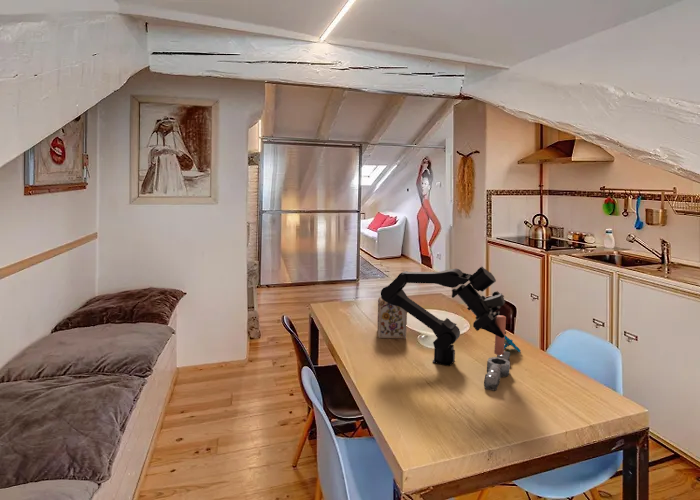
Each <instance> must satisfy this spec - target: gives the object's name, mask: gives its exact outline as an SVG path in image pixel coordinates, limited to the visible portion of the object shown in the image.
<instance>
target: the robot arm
mask: <svg viewBox="0 0 700 500" xmlns="http://www.w3.org/2000/svg"><path fill="white" fill-rule="evenodd" d="M468 282H469V283H468ZM496 282H497V279H496V278H495V276H494V275H493V274H492V272H491V271H489V270H488V269H486V268H484V267H483V266H480V267H479V268H477V270H476V271H475V272H474V273H473V274H470V273H467V272H463V271H462V270H460V269H459V268H451V269H445V270H442V271H403V272H400V273H399V274H398V276H396V278H394V279H393V280H392V282H390V283H389V284H388V285H386V286H384V287H383V288H382V289H381V290H380V297H381V298H382V299H383V300H384V301H385V302H387V303H389V304H391V305H395V306H399V307H401V308H402V309H404V310H405V311H406V312H407V314H410V315H411V316H412V317H414V318H415V319H416V320H418V321H419V322H421V324H423V325H425V326H426V327H427V328H429V329H430V330H431V331H432V332H433V333H434V335H435V337H436V339H434V340H433V342H432V344H433V347H434V348H433V349H434V350H433V356H434V357H433V360H432V363H433V364H439V365H443V366H449V367H451V365H452V364H453V363H454V362H455V359H456V356H455V355H456V350H455V348H454V347H455V346H454V345H453V344H454V343H456V341H457V340H458V339H459V338H460V336H461V331H460V328H459V327H458V326H457V325H458V324H457V323H455V322H453V321H451V320H450V319H449V317H448V318H447V317H446V318H445V319H444V320H443V319H440V318H438V316H437V317H436V316H435V315H434V314H433V313H431V312H430V311H428V310H426V309H425V308H424V307H422V306H421V305H420V304H418V303H417V302H415V301H414V300H413V299H411V298H409V296H407V294H406V293H405V291H404V290H403V289H404V288H405V287H406V285H407V284H436V285H440V286H442V287H446V288H453V289H452V290H451V292H452V294H451V298H455V297H456V296H458V297H459V298H460V299H461V300H462V301H463V303H465V305H466V306H467V310H468V311H471V312H472V313H473V314H474V315H475V320H474V322H473V323H472V325H473V328H474V330H476V331H477V332H478V331H479V330H484V331H486V332H489V333H491V334H493V335H497V336H499V337H501V338H503V337H505V336H504V334H503V332H502V331H501V329H500V328H499V326H498V325H497V323H496V318H497V316H498V315H500V310H499V309H501V307H502V306H504V305H505V303H506V300H505V296H504V295H503V293H500V292H499V291H498V290H496V291H493V292H492V296H488V297H486V296H485V295H481V294H480V293H479V292H482V293H483V292H484V291H486V290H487V289H488V288H490V287H491V286H492V285H493V284H495V283H496ZM466 283H467V284H466ZM496 311H497V312H496ZM505 335H507V331H506V330H505Z"/></svg>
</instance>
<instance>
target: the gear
mask: <svg viewBox="0 0 700 500" xmlns="http://www.w3.org/2000/svg"><path fill="white" fill-rule="evenodd" d="M513 341H514V340H513V339H511V338H509V337H508V336H507V334H505V341H504V350H505V349H506V348H507V347H512V348H513V349H514V350H516V351H517V353H521V352H522V350H521V349H520V348H519V347H518V346H517V345H516V343H514V342H513Z"/></svg>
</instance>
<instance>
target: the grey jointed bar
mask: <svg viewBox="0 0 700 500" xmlns="http://www.w3.org/2000/svg"><path fill="white" fill-rule="evenodd" d="M510 357H511V352H510V351H505V350H504V354H503V355H496V356H494V357H489V358H488V359H487V361H486V373H485V376H484V381H483V387H484V389H485V390H489V391H490V390H491V391H494V392H495V391H497V390H498V387H499V385H500V384H501V383H500V382H501V378H507V377H509V376H510V370H511V369H510V367H511V362H510Z"/></svg>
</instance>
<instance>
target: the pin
mask: <svg viewBox="0 0 700 500" xmlns="http://www.w3.org/2000/svg"><path fill="white" fill-rule="evenodd" d="M496 323H497V325H498V326H499V328H500V329H501V331H502V332H503V334H504V336H505V335H506V334H505V331H506V324H507V316H505V315H500V314H499V315H498V316H497V318H496ZM494 335H495V334H494ZM504 341H505V337H503V338H501V337H499V336H497V335H495V337H494V350H493V351H494V352H493V353H494V354H495V355H496V356H497V355H503V354H504V351H505V349H504V345H505V344H504Z"/></svg>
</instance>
